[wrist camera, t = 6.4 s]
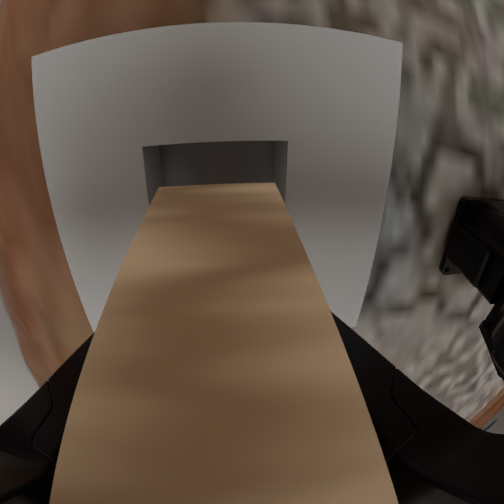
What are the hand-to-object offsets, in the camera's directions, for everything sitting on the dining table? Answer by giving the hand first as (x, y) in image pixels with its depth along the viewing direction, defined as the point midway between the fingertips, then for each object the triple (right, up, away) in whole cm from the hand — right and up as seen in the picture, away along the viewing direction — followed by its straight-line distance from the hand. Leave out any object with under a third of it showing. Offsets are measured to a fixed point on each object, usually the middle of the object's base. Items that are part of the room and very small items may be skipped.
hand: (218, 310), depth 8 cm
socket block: (-1, +5, +9) cm, 11 cm away
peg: (0, +2, +3) cm, 4 cm away
